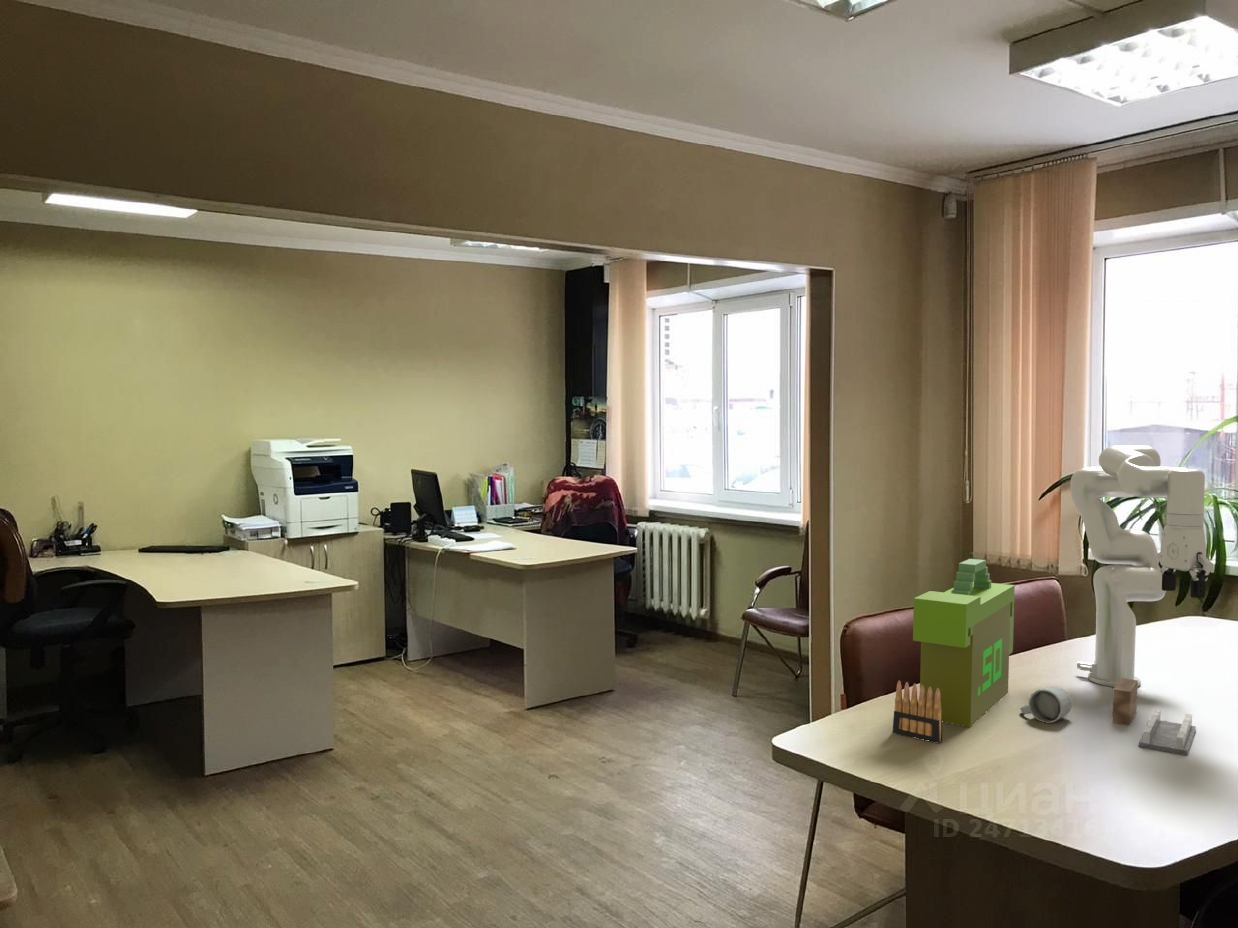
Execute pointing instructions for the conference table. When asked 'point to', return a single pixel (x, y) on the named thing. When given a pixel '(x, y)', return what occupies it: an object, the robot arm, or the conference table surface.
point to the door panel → (1125, 701)
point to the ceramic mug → (1048, 704)
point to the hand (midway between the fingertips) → (1182, 593)
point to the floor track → (1168, 734)
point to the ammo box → (966, 642)
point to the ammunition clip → (918, 714)
